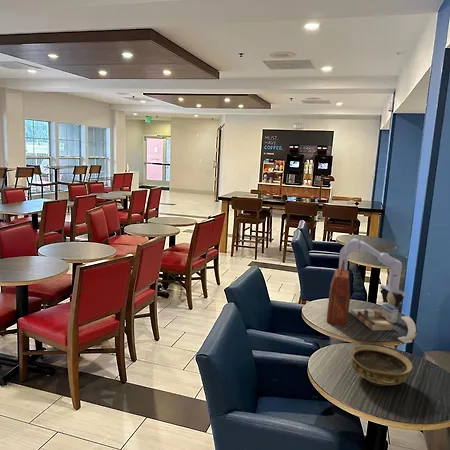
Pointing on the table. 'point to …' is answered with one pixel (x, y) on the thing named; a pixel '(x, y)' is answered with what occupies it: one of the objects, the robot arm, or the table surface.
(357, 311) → the sweep station
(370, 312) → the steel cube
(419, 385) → the table surface
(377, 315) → the bronze cube
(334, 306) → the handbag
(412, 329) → the headphone stand
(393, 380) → the ceramic bowl
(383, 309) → the medicine box
